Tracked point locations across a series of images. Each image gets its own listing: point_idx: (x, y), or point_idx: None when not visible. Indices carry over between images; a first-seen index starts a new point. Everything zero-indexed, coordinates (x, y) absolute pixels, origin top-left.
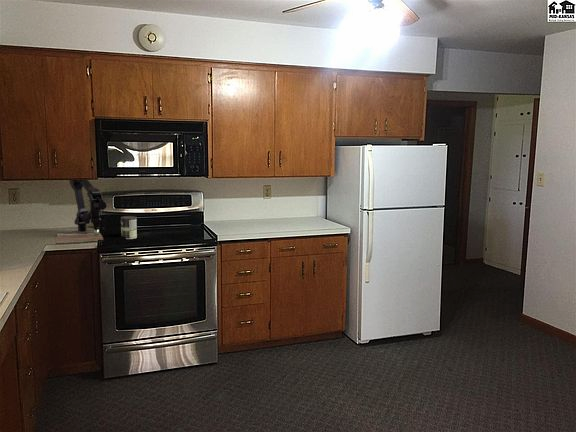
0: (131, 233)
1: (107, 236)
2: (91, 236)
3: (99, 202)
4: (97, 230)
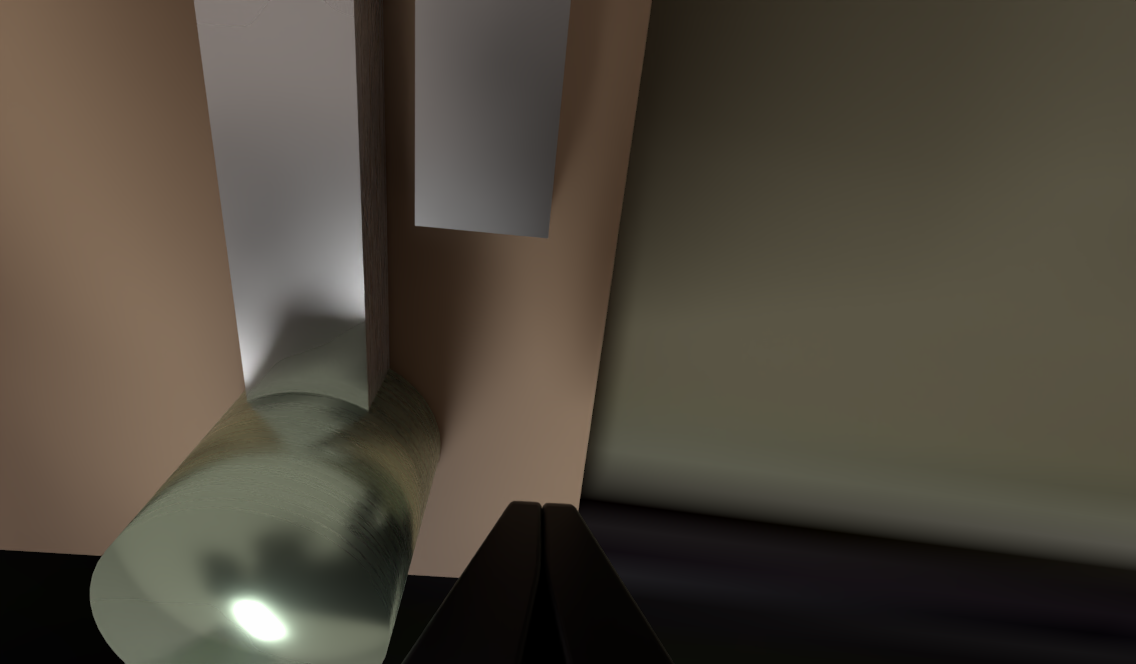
0: None
1: (408, 645)
2: (5, 194)
3: None
4: (127, 628)
